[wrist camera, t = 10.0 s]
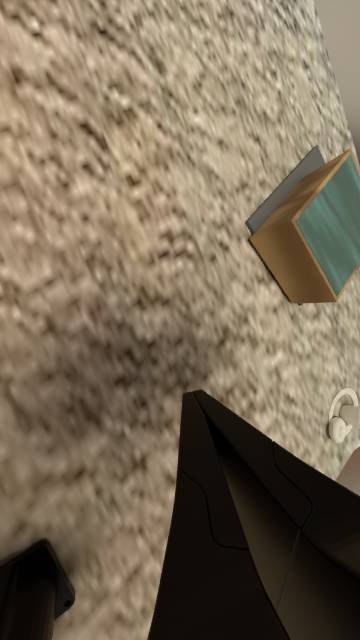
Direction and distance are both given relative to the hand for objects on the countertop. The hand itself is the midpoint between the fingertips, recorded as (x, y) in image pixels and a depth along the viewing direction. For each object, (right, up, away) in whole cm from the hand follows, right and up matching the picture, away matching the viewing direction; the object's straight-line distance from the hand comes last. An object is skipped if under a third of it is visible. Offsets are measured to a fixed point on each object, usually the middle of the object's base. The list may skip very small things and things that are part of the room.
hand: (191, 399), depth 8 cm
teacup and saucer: (+23, -10, +23) cm, 34 cm away
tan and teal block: (+11, +9, +13) cm, 19 cm away
